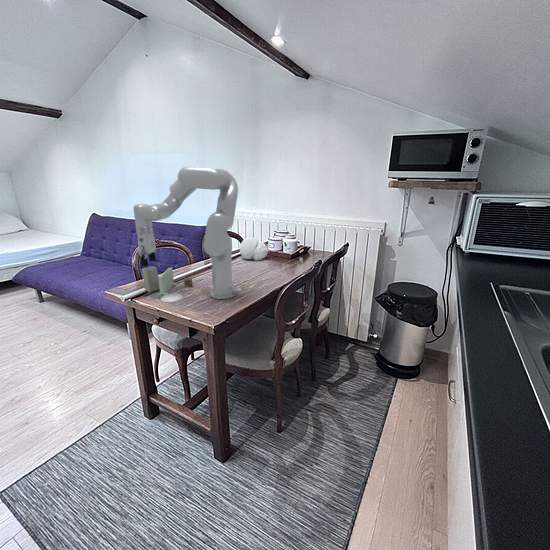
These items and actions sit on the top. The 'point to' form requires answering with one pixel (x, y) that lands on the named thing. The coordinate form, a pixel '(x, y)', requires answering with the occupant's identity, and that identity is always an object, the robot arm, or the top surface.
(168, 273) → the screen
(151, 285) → the skincare box
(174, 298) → the coaster
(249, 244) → the cauliflower
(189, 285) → the walnut cube
